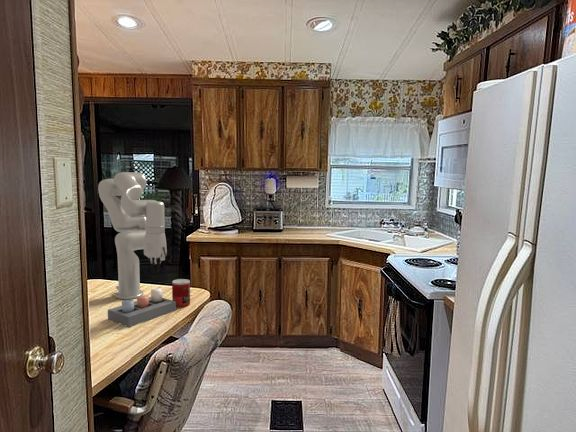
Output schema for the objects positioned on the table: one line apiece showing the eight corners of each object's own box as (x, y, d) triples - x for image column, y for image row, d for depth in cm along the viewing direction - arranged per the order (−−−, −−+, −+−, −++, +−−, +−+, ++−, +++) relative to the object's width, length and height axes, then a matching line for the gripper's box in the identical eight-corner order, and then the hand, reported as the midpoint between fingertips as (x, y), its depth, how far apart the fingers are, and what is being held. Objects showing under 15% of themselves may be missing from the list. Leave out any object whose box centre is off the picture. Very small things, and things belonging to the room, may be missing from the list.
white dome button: (149, 300, 166) (148, 290, 165) (157, 297, 170) (157, 287, 169) (155, 302, 163) (155, 292, 163) (164, 299, 167) (164, 289, 167)
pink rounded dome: (134, 307, 160) (134, 297, 160) (144, 304, 164) (144, 294, 163) (141, 310, 157) (141, 299, 157) (151, 307, 161) (150, 296, 161)
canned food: (185, 308, 170) (185, 284, 169) (169, 306, 171) (168, 282, 170) (193, 302, 177) (193, 279, 176) (177, 301, 179) (177, 278, 178)
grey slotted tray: (107, 319, 155) (107, 309, 155) (155, 304, 174) (155, 295, 174) (128, 327, 148) (128, 317, 147) (176, 310, 167) (175, 301, 166)
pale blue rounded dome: (119, 312, 154) (119, 301, 154) (129, 309, 158) (129, 299, 158) (126, 315, 152) (126, 304, 151) (136, 311, 155) (136, 301, 155)
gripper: (136, 229, 164) (137, 271, 166) (159, 233, 156) (160, 277, 158) (151, 227, 170) (152, 268, 172) (174, 231, 162) (174, 273, 164)
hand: (156, 272), depth 165 cm, fingers closed
